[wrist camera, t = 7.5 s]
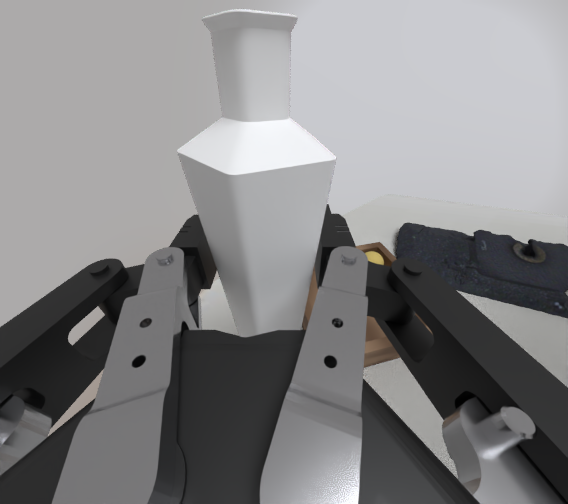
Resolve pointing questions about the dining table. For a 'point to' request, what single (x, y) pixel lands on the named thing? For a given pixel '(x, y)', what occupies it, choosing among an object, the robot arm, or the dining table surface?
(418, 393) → the dining table surface
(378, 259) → the ball
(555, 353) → the dining table surface
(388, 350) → the tray
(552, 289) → the dark folded fabric bundle
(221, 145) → the white faceted vase
